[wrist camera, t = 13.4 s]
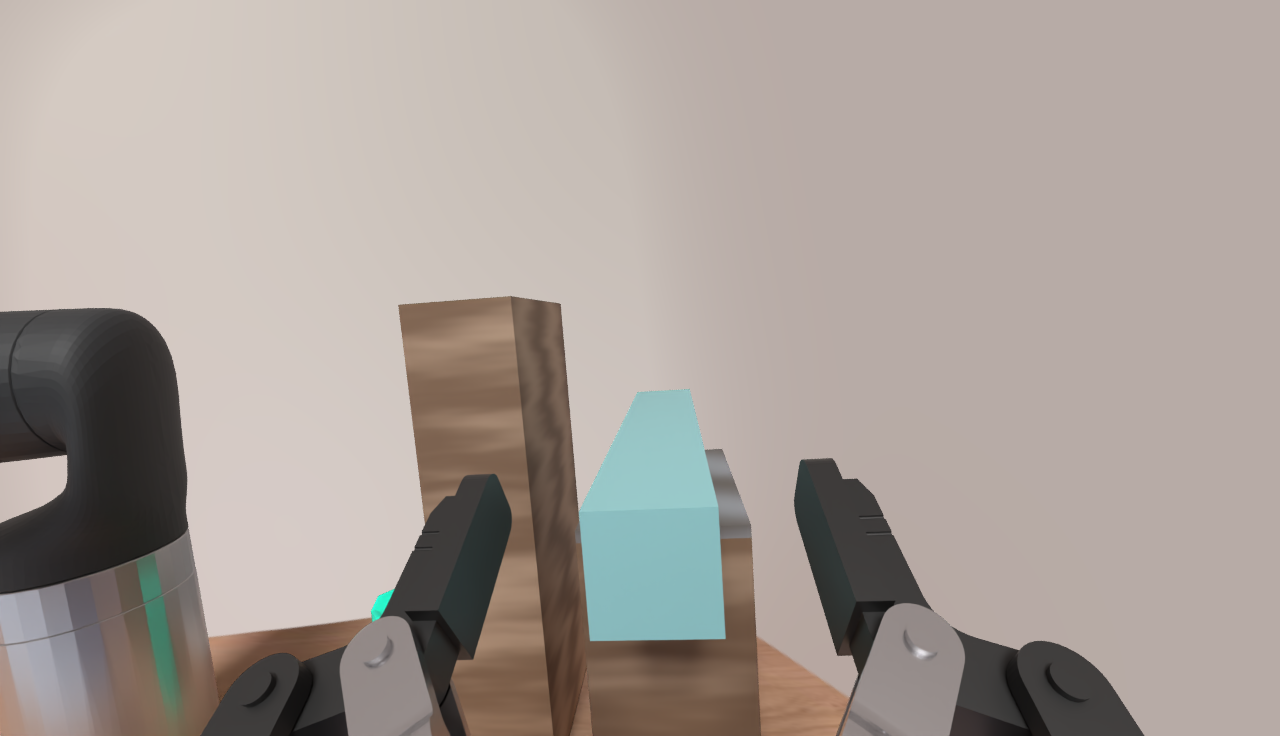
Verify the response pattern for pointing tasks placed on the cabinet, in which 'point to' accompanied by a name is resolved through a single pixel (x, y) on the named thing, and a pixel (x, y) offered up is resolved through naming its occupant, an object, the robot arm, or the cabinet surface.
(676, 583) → the batten
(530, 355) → the stand
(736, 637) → the brown wooden block
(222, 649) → the cabinet surface
